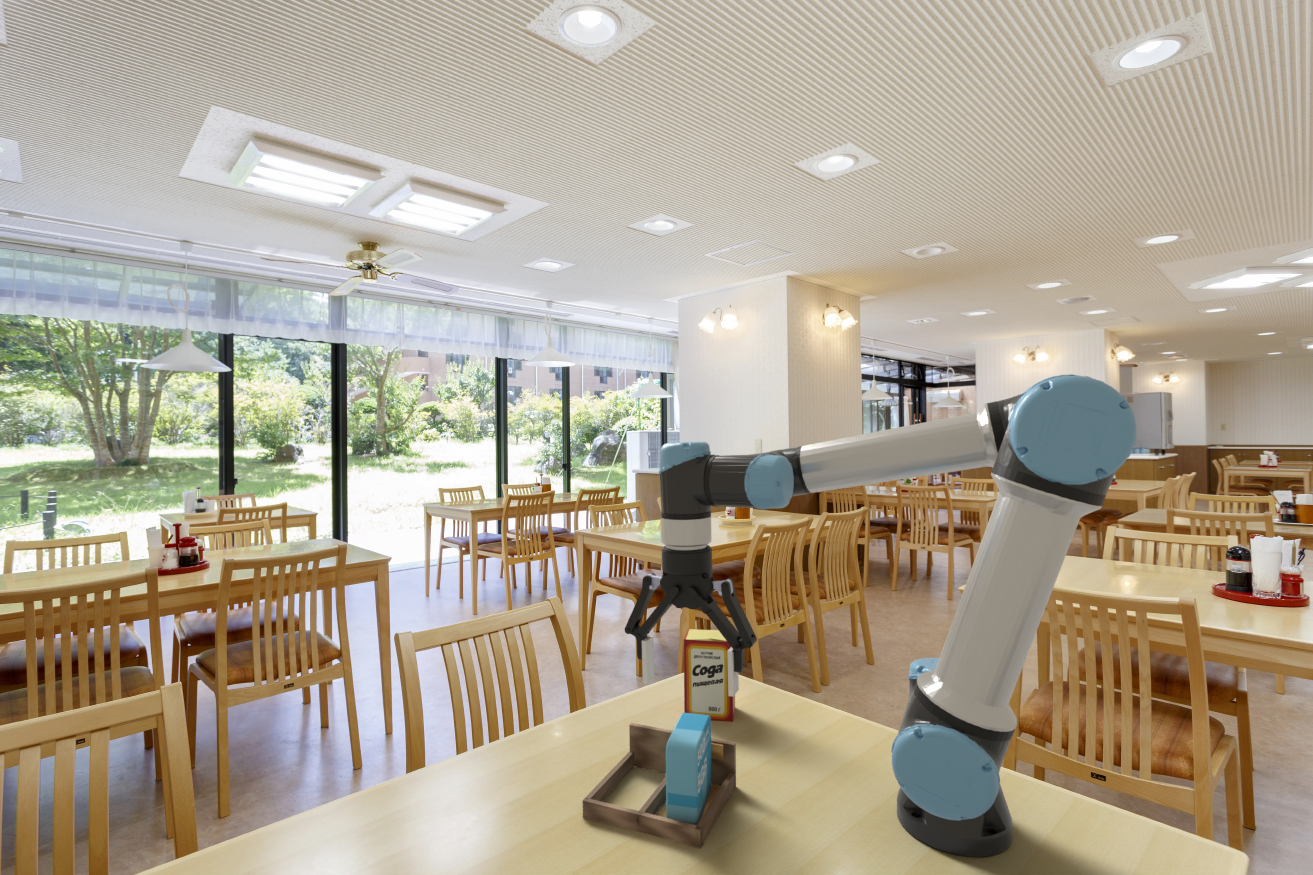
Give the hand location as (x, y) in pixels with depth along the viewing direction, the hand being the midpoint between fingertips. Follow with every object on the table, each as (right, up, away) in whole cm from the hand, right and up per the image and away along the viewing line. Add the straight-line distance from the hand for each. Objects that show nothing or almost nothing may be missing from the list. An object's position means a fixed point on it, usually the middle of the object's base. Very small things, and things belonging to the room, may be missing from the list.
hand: (689, 686), depth 99 cm
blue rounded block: (0, -18, +1) cm, 18 cm away
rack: (-4, -18, +2) cm, 19 cm away
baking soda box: (+6, -18, +33) cm, 38 cm away
